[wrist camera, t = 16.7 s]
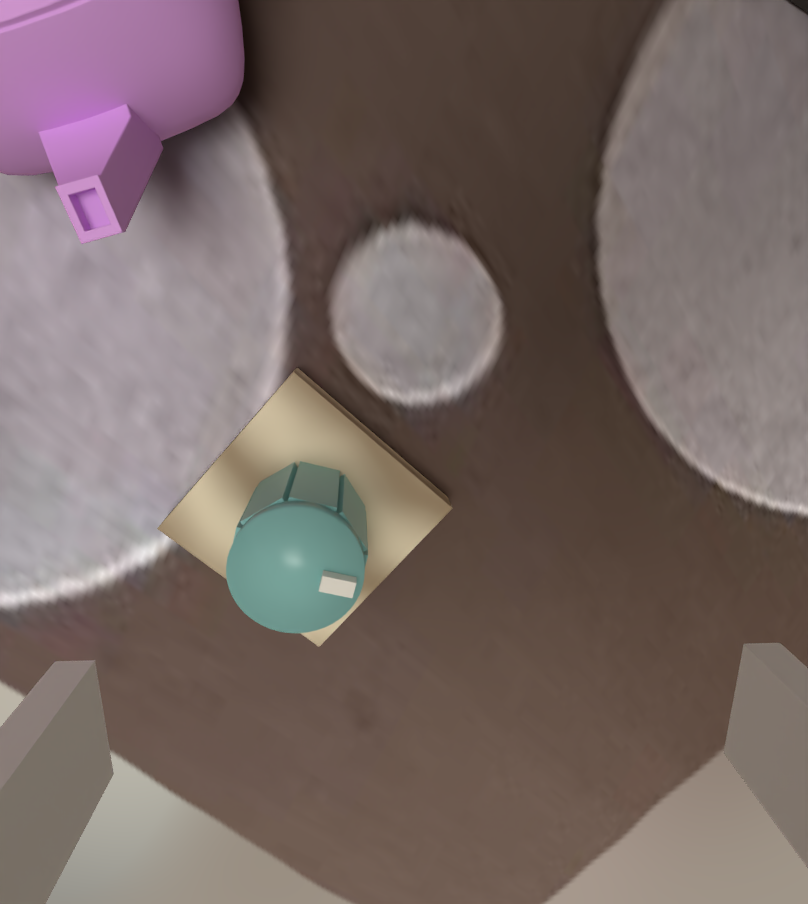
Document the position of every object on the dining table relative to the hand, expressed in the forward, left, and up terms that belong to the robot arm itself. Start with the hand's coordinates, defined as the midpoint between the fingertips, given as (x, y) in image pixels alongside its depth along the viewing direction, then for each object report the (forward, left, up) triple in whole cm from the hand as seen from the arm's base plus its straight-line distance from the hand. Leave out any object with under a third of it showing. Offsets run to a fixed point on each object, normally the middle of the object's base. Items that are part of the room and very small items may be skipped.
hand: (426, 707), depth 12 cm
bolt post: (+6, 0, -25) cm, 25 cm away
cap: (+6, 0, -23) cm, 23 cm away
